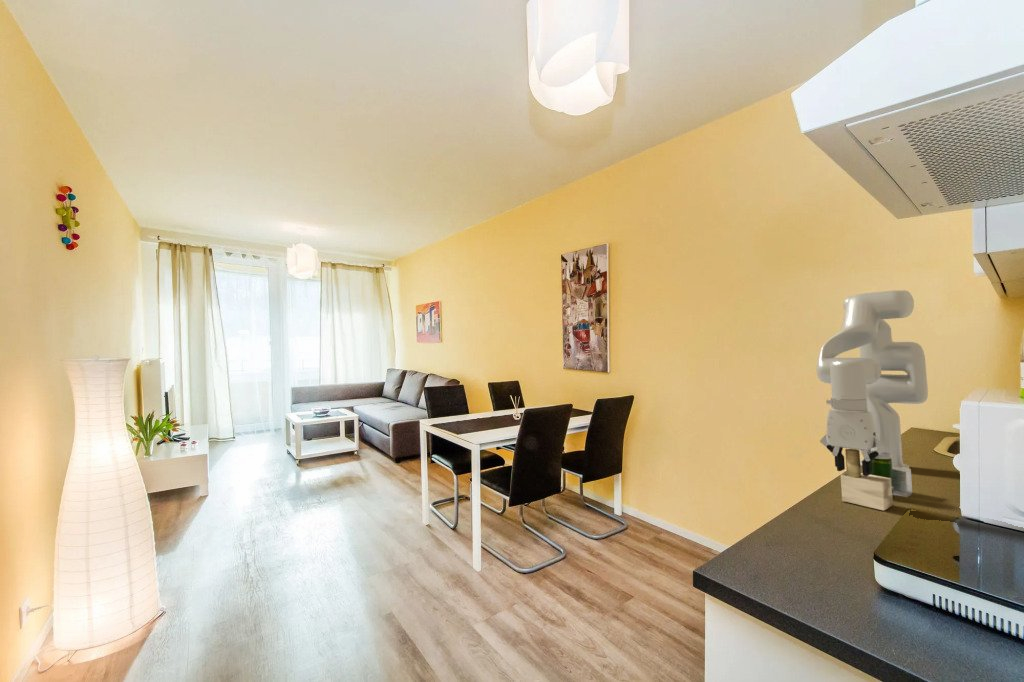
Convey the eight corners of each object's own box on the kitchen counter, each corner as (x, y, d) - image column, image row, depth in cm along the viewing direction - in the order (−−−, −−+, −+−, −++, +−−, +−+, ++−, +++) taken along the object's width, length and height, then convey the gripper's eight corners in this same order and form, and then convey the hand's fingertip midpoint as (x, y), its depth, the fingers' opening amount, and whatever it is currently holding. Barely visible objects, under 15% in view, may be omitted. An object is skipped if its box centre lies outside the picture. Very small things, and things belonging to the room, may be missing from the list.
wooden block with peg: (851, 496, 119) (848, 445, 119) (892, 505, 112) (889, 451, 112) (842, 500, 116) (839, 449, 116) (884, 510, 108) (880, 455, 109)
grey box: (872, 486, 127) (870, 462, 127) (912, 493, 120) (910, 468, 120) (867, 488, 125) (865, 464, 125) (907, 497, 117) (905, 471, 118)
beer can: (896, 495, 119) (893, 452, 119) (892, 500, 115) (889, 456, 116) (871, 491, 123) (868, 449, 123) (866, 496, 119) (864, 453, 120)
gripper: (807, 404, 120) (811, 468, 120) (884, 409, 106) (888, 483, 106) (819, 401, 124) (823, 463, 124) (895, 406, 110) (899, 477, 110)
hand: (853, 471), depth 115 cm, fingers open, 5 cm apart
